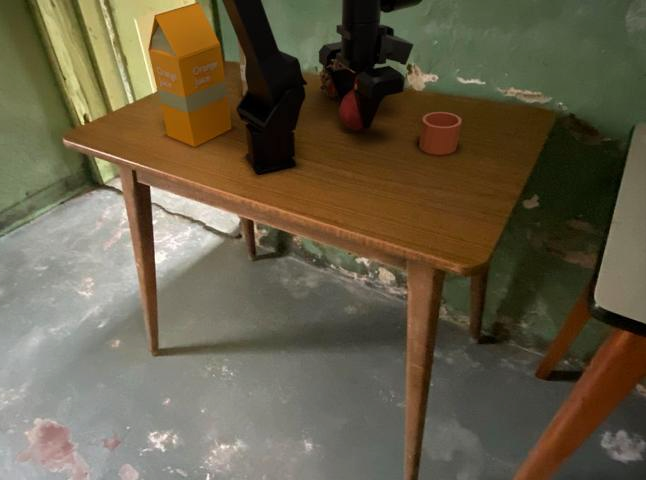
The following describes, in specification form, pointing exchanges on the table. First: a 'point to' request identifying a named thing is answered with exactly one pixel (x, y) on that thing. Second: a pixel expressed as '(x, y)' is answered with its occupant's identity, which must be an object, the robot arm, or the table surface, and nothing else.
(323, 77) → the dragon fruit
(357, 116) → the onion
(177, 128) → the orange juice
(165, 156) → the table surface
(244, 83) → the sprinkles bottle
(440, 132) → the cup
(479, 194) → the table surface
